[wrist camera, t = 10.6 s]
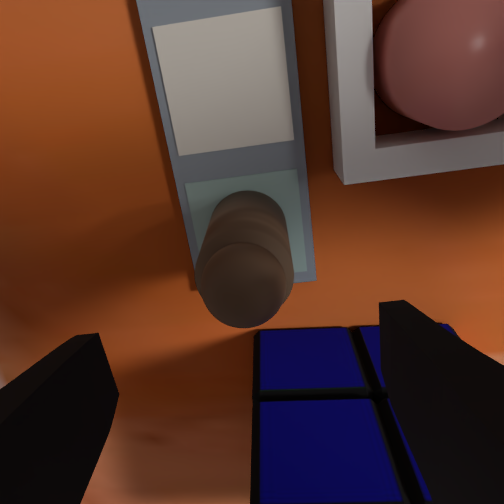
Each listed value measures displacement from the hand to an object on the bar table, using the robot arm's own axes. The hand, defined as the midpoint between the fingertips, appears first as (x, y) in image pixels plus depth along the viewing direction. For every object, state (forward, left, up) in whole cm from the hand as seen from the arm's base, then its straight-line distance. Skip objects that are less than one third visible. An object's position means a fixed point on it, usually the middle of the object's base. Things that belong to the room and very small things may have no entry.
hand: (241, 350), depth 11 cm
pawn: (0, 0, -9) cm, 9 cm away
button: (-8, -6, -9) cm, 14 cm away
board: (0, -6, -9) cm, 11 cm away
